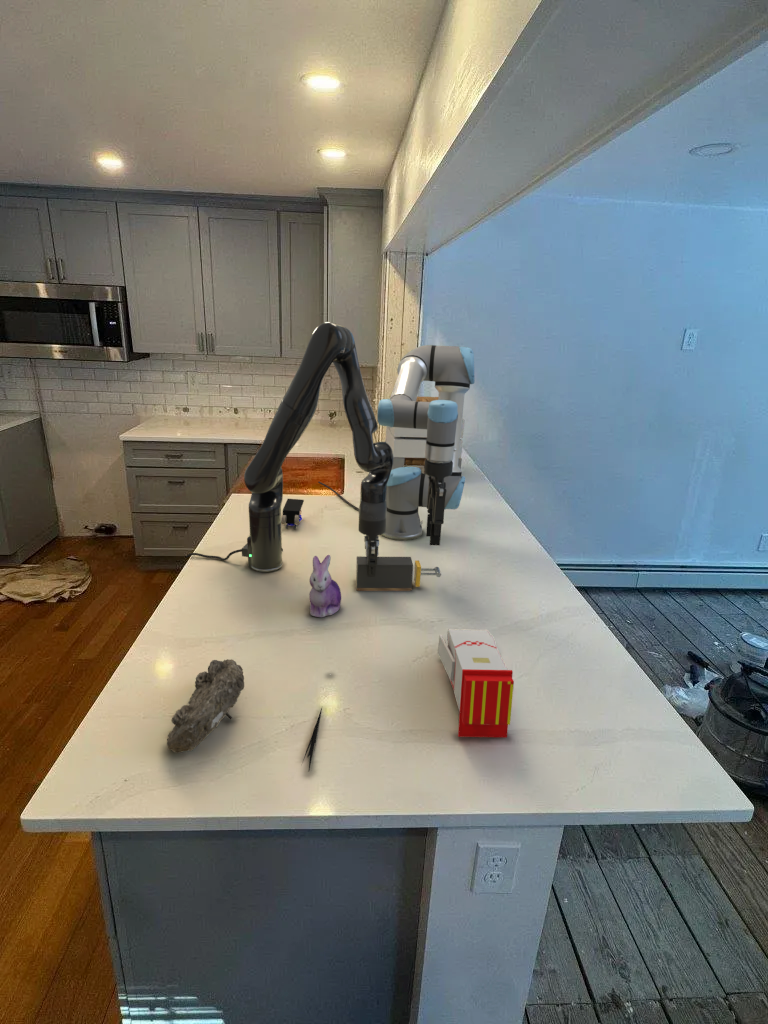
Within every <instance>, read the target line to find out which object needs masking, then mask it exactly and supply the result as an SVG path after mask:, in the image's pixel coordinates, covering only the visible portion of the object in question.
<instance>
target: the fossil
mask: <svg viewBox="0 0 768 1024" xmlns="http://www.w3.org/2000/svg"><path fill="white" fill-rule="evenodd" d="M243 670H244V669H243V667H242V665H240V664H237V662H236V661H235V660H234V659H232V658H231V659H227V658H226V659H224V660H223V661H222V660H217V659H212V660H211V661H210V663H209V665H208V666H207V671H201V672H199V673H198V674H197V675H196V676H195V680H194V684H195V685H194V687H195V689H194V690H193V693H192V694H191V697H190V698H189V700H188V704H184V705H182V706H181V707H180V709H177V710H176V711H175V713H174V715H173V716H172V718H171V723H172V724H173V727H172V730H171V731H170V732H168V734H167V738H166V741H167V742H166V745H167V749H168V750H169V751H173V752H174V753H176V754H178V753H182V752H188V751H189V752H192V751H193V750H195V748H196V747H197V746H199V744H200V743H201V742H203V741H204V740H205V739H206V738H207V737H208V736H209V735H210V734H211V733H212V732H214V730H215V729H217V727H218V726H219V724H220V722H221V721H222V720H223V719H224V718H225V716H226V717H227V719H229V720H233V717H232V715H230V714H229V710H230V709H231V708H234V706H235V704H236V703H237V702H238V699H239V697H240V695H241V693H242V691H243V690H245V689H244V688H245V675H244V671H243Z"/></svg>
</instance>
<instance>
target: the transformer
mask: <svg viewBox="0 0 768 1024" xmlns="http://www.w3.org/2000/svg"><path fill="white" fill-rule="evenodd" d="M434 400H438V396H418V395H417V399H416V401H419V402H431V401H434ZM385 427H386V428H385V438H384V442H386V443H387V444H389V445H390V447H391V449H392V451H393V457H394V458H393V466H392V470H393V469H396V468H400V467H405V466H406V467H417V466H418V467H424V466H425V460H426V458H425V448H426V440H427V429H414V428H399V427H388V426H385ZM464 429H465V419H464V418H462V426H461V437H460V448H459V459H458V467H459V468H460V469H461V470H462V461H463V460H462V453H463V442H464V441H463V440H462V439H463V438H464V431H465V430H464Z"/></svg>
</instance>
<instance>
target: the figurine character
mask: <svg viewBox="0 0 768 1024" xmlns="http://www.w3.org/2000/svg"><path fill="white" fill-rule="evenodd" d="M304 501H305V499H300V498H299V499H298V498H286V502H285V503H284V506H283V508H282V514H281V526H285V530H288V529H289V526H290V527H293V530H296V529H297V526H299V525H300V522H301V521H302V520H303V517H302V514H303V513H302V508H303V504H304Z"/></svg>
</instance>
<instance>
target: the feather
mask: <svg viewBox="0 0 768 1024" xmlns="http://www.w3.org/2000/svg"><path fill="white" fill-rule="evenodd" d="M329 675H330V676H331V675H332V674H331V673H330V674H329ZM322 710H323V707H321V708H320V710H319V713H318V716H317V719H316V723H315V725H314V728H313V731H312V733H311V737H310V739H309V742H308V745H307V748H306V751H305V754H304V757H303V760H302V763H301V767H302V765H303V763H304V761H305V758H308V759H309V760H308V762H307V763H308V764H307V766H308V771H310V770H311V766H312V765H311V764H312V760H313V757H315V756H314V755H315V751H316V749H315V746H317V739H318V733H319V729H320V722H321V717H322V712H323V711H322ZM313 754H314V755H313ZM306 755H307V757H306Z"/></svg>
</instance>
